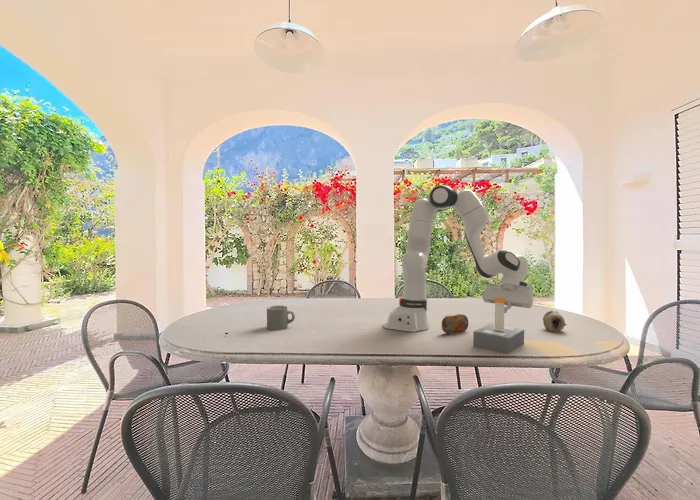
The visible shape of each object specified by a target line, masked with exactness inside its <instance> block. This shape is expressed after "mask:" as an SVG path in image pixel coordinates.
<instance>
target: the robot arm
mask: <svg viewBox="0 0 700 500" xmlns="http://www.w3.org/2000/svg"><path fill="white" fill-rule="evenodd" d="M451 208H453V209H455V210H456V212H457V214H458V215H459V216H460V218H461V220H462V222H463V226H464V230H463V231H464V233H463V234H464V237H465V240H466V242H467V245H468V247H469V250H470V253H471V255H472V258H473V260H474V262H475V266H476V267H475V268H476V271H477V272H478V274H479V275H480V276H481V277H483V278H485V279H491V278H493V277H495V276H497V275H499V274H501V275H503V276H502V278H501V280H500V283H499V284H493V283H492V284H491V283H490V284H488V285H487V286H486V287H485V289H484V291H483V292H482V296H481V298H482V300H483V302H484V303H488V304H494V305H495V302H494V297H504V298H506V303H504V314H507V312H508V310H510V309H511V308H512V307H518V308H525V309H530V308H532V307H533V304H534V289H533V286H532V285H531V283H529V282H526V281H525V279H526V277H527V275H528V274H527V273H528V271H529V261H528V259H527V258H526V257H525V256H523V255H520V254H514V253H513V252H512V251H510V250H508V249H505V248H502V249H499V250H496V251H495V252H492V253H491V254H489V255H488V254H487V253H486V251H485V249H484V246H483V244H482V241H481V233H482V232H483V230H484V229H485V227H486V226H487V224H488V222H489V215H488V211H487V210H486V208H485V206H484V205H483V203H482V202H481V200H480V198H479V197H478V196H477V194H475V192H474V191H472V190H471V189H467V188H466V189H465V188H464V189H462V190H460V191H457V190H455V189H454V188H451V187H450V186H448V185H445V184H443V185H442V184H439V185H436V186H434V187H433V188H432V189H431V191H430V193H429V196H428V198H424V197H423V198H419V199H417V200H416V201H415V202H414V204H413V207H412V211H411V215H410V219H409V224H408V225H409V226H408V231H407V245H406V246H407V247H406V252H405V253H404V254H403V255H402V259H401V264H402V265H401V267H402V277H403V297H400V298H399V300H398V301H399V303H398V306H397V307H396V308H394V309H393V310H391V311H390V312H389V315H388V317H387V320H386V321H383V327H384V329H390V330H397V331H403V332H404V331H405V332H413V333H415V332H419V331H426V330H428V329H430V325H429V322H428V321H429V320H428V315H427V313H428V312H427V311H428V299H427V277H426V276H427V274H426V273H427V272H426V265H427V263H428V260H429V253H430V244H431V235H432V231H433V225H434V219H435V214H436V213H437V212H441V211H447V210H450V209H451Z"/></svg>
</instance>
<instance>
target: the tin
mask: <svg viewBox="0 0 700 500" xmlns="http://www.w3.org/2000/svg"><path fill="white" fill-rule="evenodd" d="M468 327H469V319H468V317H467V316H466V315H465V314H460V313H458V314H457V313H456V314H453V315H452V314H451V315H446V316H444V318H443V319H442V320H441V330H442V332H443V333H445V334H448V335H457V334H459V333H460V334H461V333H464V332H465V331H467V329H468Z"/></svg>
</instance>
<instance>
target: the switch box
mask: <svg viewBox="0 0 700 500" xmlns="http://www.w3.org/2000/svg"><path fill="white" fill-rule="evenodd" d="M472 338H473V339H472V341H473V342H472V343H473V346H474V347H477V348H482V349H486V350H491V351H494V352H499V353H502V354H503V353H505V354H510V353H512V352H513V351H515V350H516V349H518V348H519V347H521V346H522V345H524V344H525V329H523V328H520V327H513V326H508V325H504V329H503V330H502V329H497V328H495V323H489V324H486V325H484V326H482V327H479V328H478V329H476V330H473V337H472Z"/></svg>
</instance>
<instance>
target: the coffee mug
mask: <svg viewBox="0 0 700 500" xmlns="http://www.w3.org/2000/svg"><path fill="white" fill-rule="evenodd" d="M289 314H291V318H289ZM295 316H296V314H295V312H294V311H293V310H290V309H289V310H288V306H287V305H272V306H271V305H270V306H268V307H266V330H269V331H282V330H286V329H288V326H289V324H291V323H293V322H294V321H295Z"/></svg>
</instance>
